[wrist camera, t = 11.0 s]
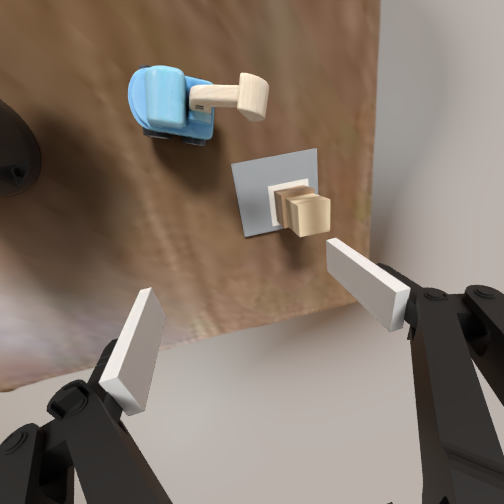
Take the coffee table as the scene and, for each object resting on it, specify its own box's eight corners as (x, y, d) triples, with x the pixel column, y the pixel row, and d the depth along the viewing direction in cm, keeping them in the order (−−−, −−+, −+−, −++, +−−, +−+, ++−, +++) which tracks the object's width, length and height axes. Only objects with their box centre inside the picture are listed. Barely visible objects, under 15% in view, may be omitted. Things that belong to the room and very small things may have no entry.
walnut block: (277, 220, 43) (284, 228, 39) (273, 191, 41) (281, 195, 36) (305, 214, 44) (315, 221, 39) (303, 185, 41) (314, 188, 37)
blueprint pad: (244, 235, 44) (245, 237, 44) (230, 164, 38) (231, 164, 38) (317, 219, 46) (319, 221, 45) (314, 148, 40) (317, 148, 39)
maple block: (287, 225, 39) (299, 237, 33) (285, 198, 36) (297, 205, 31) (313, 220, 39) (329, 230, 34) (313, 193, 37) (330, 199, 32)
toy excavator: (243, 153, 38) (264, 152, 23) (142, 136, 35) (86, 122, 19) (250, 96, 35) (280, 49, 19) (139, 71, 31) (68, -10, 16)
